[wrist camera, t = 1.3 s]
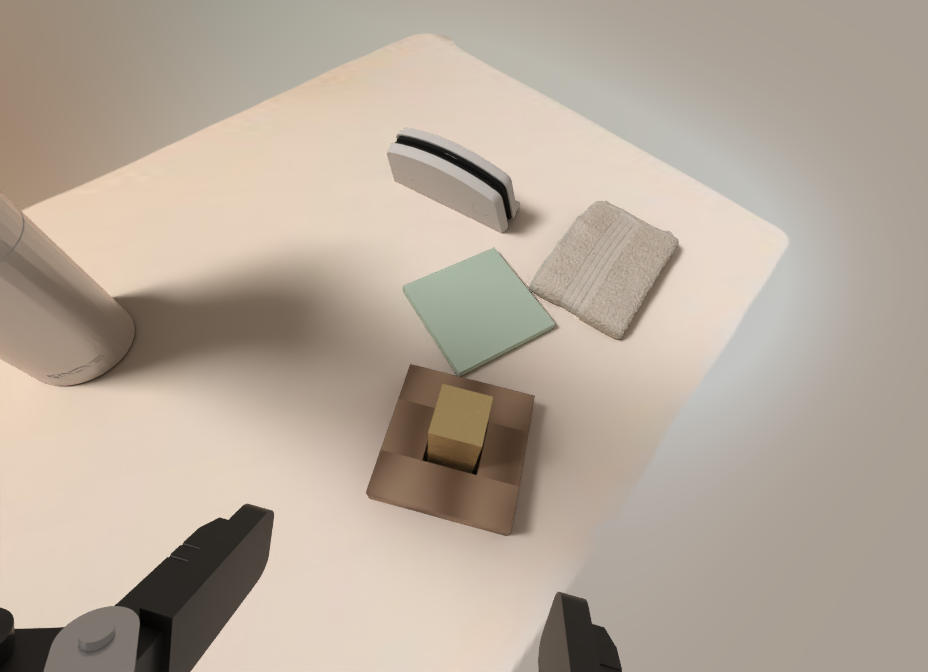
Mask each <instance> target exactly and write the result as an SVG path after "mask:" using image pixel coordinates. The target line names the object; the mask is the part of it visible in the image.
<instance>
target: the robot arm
mask: <svg viewBox="0 0 928 672" xmlns="http://www.w3.org/2000/svg"><path fill="white" fill-rule="evenodd" d="M134 335H135V325H134V322H133V319H132V318H131V316H130V315H129V313H128V312H127V311H126V310H125V309H123V308H122V307H121V306H120V305H119V304H118V303H117V302H116V301H115V300H114V299H113V298H112V297H111V296H110V295H109V294H108V293H107V292H106V291H105V290H104V289H103V288H102V287H101V286H99V285H98V284H97V283H96V282H95V281H94V280H93V279H92V278H91V277H90V276H89V275H88V274H87V273H86V272H85V271H84V270H83V269H82V268H81V267H79V266H78V265H77V264H76V263H75V262H74V261H73V260H72V259H71V258H70V257H69V256H68V255H67V254H66V253H65V252H64V251H63V250H62V249H61V248H59V247H58V246H57V245H56V244H55V243H54V242H53V241H52V240H51V239H50V238H49V237H48V236H47V235H46V234H45V233H44V232H43V231H42V230H41V229H39V228H38V227H37V226H36V225H35V224H34V223H33V222H32V221H31V220H30V219H29V218H28V217H27V216H26V215H25V214H24V213H23V212H22V211H21V210H19V209H18V208H17V207H16V206H15V205H14V204H13V203H12V202H11V201H9V199H8V198H6V197H5V196H4V195H3V194H2V193H1V192H0V359H2V360H3V361H5V362H7V363H9V364H10V365H12V366H14V367H16V368H18V369H20V370H21V371H23V372H25V373H27V374H29V375H30V376H32V377H34V378H36V379H38V380H40V381H42V382H44V383H46V384H51V385H55V386H68V385H74V384H80V383H83V382H86V381H89V380H92V379H94V378H96V377H98V376H100V375H102V374H104V373H105V372H107V371H108V370H110V369H111V368H113V367H114V366H115V365H116V364H117V363H118V362H119V361H120V360H121V359H122V358H123V357H124V356H125V354H126V353H127V352H128V350H129V348H130V346H131V344H132V343H133V339H134ZM273 520H274V512H273V511H272V510H268V509H265V508H261V507H257V506H254V505H250V504H245V505H243V506H242V507H241V508H240V509H239V510H238V511H237V512H236V513H235V514H234V515H233V516H232V517H231V518H230V519H229V520H226V519H223V518H218V519H216V520H214V521H212V522H210V523H208V524H206V525H204V526H202V527H200V528H198V529H197V530H196V531H195V532H194V533H193V534H192V535H191V536H190V537H189V538H188V539H187V540H185V541H184V543H183V545H180V546H179V547H178V548H177V549H176V550H175V551H174V552H172V553H171V555H170V557H169V558H168V557H167V558H166V559H165V560H164V561H163V562H162V563H161V564H160V565H158V566H157V567H156V568H155V569H154V570H153V571H152V572H151V573H150V574H149V575H148V576H147V577H145V578H144V579H143V580H142V581H141V582H140V583H139V584H138V585H137V586H136V587H135V588H134V589H132V590H131V591H130V592H129V593H128V594H127V595H126V596H125V597H124V598H123V599H122V600H121V601H120V602H118V603H117V604H116V605H115V606H110V607H104V608H100V609H96V610H93V611H90V612H88V613H86V614H84V615H82V616H80V617H78V618H76V619H75V620H73V621H72V622H70V623H69V624H68V625H67V626H65V627H61V628H33V629H14V618H13V615H12V614H11V613H10V612H9V611H8V610H6V609H3V608H0V672H190V671H191V670H192V669H193V667H194V666H195V665H196V663H197V662H198V661H199V659H200V658H201V657H202V655H203V654H204V653H205V651H206V650H207V649H208V647H209V646H210V645H211V643H212V642H213V641H214V639H215V638H216V637H217V635H218V634H219V633H220V631H221V630H222V629H223V627H224V626H225V624H226V623H227V622H228V620H229V619H230V618H231V616H232V615H233V614H234V612H235V611H236V610H237V608H238V607H239V606H240V604H241V603H242V602H243V600H244V599H245V598H246V596H247V595H248V594H249V592H250V591H251V590H252V588H253V587H254V586H255V584H256V583H257V581H258V580H259V578H260V577H261V575H262V573H263V571H264V569H265V566H266V564H267V561H268V557H269V550H270V542H271V535H272V528H273ZM538 658H539V659H538V665H539V672H622V668H621V664H620V660H619V656H618V652H617V648H616V646H615V645H614V643H613V642H612V640H611V638H610V636H609V635H608V633H607V631H606V630H605V628H604V627H600V626H597V625H593V624H592V622H591V617H590V612H589V607H588V603H587V601H586V599H583V598H579V597H575V596H572V595H568V594H565V593H561V592H557V593H556V595H555V598H554V601H553V604H552V607H551V610H550V613H549V616H548V619H547V621H546V624H545V627H544V630H543V633H542V637H541V641H540V647H539V657H538Z"/></svg>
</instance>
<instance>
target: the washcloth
mask: <svg viewBox="0 0 928 672" xmlns="http://www.w3.org/2000/svg"><path fill="white" fill-rule="evenodd" d="M677 245H678V239H677V238H676V237H674V236H673V234H672V233H671V232H669V231H662V230H660V229H658V228H656V227H653V226H651V225H649V224H648V223H646V222H644V221H642V220H640V219H638V218H637V217H635V216H633V215H631V214H630V213H628V212H626V211H625V210H623V209H621V208H618V207H616V206H614V205H612V204H610V203H609V202H607V201H604V202H603V201H597V202H595V203H593V204H592V205H591V206H590V207H588V209H587V210H586V211H585V213H584V214H582V215H581V216H580V217H578V218H577V219H576V220H575V222H574V223H573V225H572V226H571V227H570V229H569V230H568V231H567V233H566V234H565V235H564V237H563V238H562V239H561V240H560V241H559V242H558V244H557V246H556V247H555V249H554V250H553V252H552V253H551V254H550V256H549V257H548V258H547V259H546V260H545V261H544V263H543V264H542V266H541V267H540V268H539V270H538V271H537V274H536V275H535V277H534V279H533V280H532V282H531V284H530V286H529V289H530V290H531V291H532V292H534V293H535V294H536V295H538V296H540V297H542V298H543V299H545V300H547V301H549V302H551V303H552V304H555V305H559V306H561V307H563V308H565V309H566V310H568V311H570V312H571V313H573V314H575V315H576V316H578V317H579V319H580V320H582V321H584V322H585V323H587V324H589V325H590V326H592V327H594V328H596V329H598V330H599V331H601V332H603V333H605V334H606V335H609V336H611V337H612V338H615V339H620V340H621V339H622V337H623V335H624V332H625V330H626V329H627V328H628V327H629V325H630V322H631V321H632V319H633V317H634V314H636V313H637V312H638V309H639V308H640V306H641V305H642V301H643V300H644V298H645V297H646V295H647V293H648V291H649V290H651V289H652V287H653V285H654V283H655V281H656V280H657V277H659V275H660V273H661V271H662V269H663V268H664V267H665V265H666V263H667V262H668V260H669V259H670V257H671V255H672V254H673V253H674V250H675V249H676V248H677Z"/></svg>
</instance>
